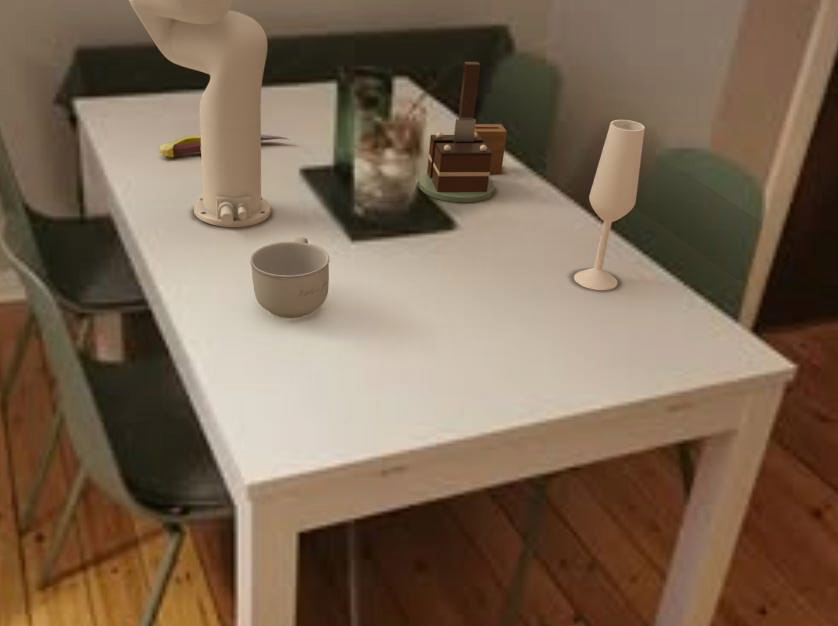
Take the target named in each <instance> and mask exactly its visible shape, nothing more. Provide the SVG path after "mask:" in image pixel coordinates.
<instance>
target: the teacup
mask: <svg viewBox="0 0 838 626" xmlns="http://www.w3.org/2000/svg"><path fill="white" fill-rule="evenodd" d="M249 263H250V265H251V275H252V276H251V277H252V285H253V293H254V296H255V299H256V301H257V303H258V304H259V305H260V306H261V307H262V308H263V309H265V311H267V312H269V313H270V314H271V315H273V316H275V317H280V318H284V319H298V318H303V317H306V316H309V315H310V314H312V313H314V312H315V311H316V310H317V309H319V308H320V307H321V306H322V305H323V304H324V303H325V301H326V299H327V297H328V294H329V289H330V288H329V287H330V285H329V284H330V283H329V282H330V274H329V273H330V267H329V266H330V255H329V253H328V252H327V251H326V250H325V249H324V248H323V247H321V246H318V245H315V244H312V243H309V240H308V239H307V238H306V237H304V236H298V237H296V238H295V241H282V242H274V243H270V244H267V245H264V246H262V247H260V248H258V249H256V250H255V251H254V252H253V253H252V254H251V256H250V258H249Z"/></svg>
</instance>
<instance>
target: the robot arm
mask: <svg viewBox="0 0 838 626" xmlns="http://www.w3.org/2000/svg"><path fill="white" fill-rule="evenodd" d="M128 2H129V4H130V6H131V8H132V9H133V11H134V13H135V15H136V16H137V17H138V19H139V20H140V22H141V24H142V26H143V27H144V29H145V30H146V31H147V34H148V35H149V36H150V38H151V39H152V41H153V42H154V44H155V46H156V47H157V49H158V50H159V52H160V53H161V54H162V55H163V56H164V57H165V58H166V59H167V60H168V61H169V62H171V63H173V64H175V65H177V66H180V67H183V68H187V69H190V70H193V71H198V72H202V73H204V74H207V75H208V76H209V82H208V84H207V86H206V87H205V90H204V91H203V93H202V95H201V97H200V101H199V131H200V132H199V133H200V134H201V152H200V156H201V160H200V161H201V181H202V196H201V197H199V198H198V199H196V201H195V202H194V204H193V213H194V215H195V216H196V217H197V219H198V220H200V221H202V222H204V223H206V224H209V225H212V226H217V227H224V228H241V227H242V228H243V227H250V226H254V225H257V224H260V223H262V222H264V221H265V220H267V219H268V218H269V217H270V215H271V210H272V209H271V208H272V207H271V204H270V202H269V201H268V200H267V199H266V198H264V197H262V141H261V134H262V116H261V115H262V113H261V112H262V111H261V109H262V105H261V104H262V85H263V77H264V73H265V65H266V61H267V55H268V37H267V34H266V32H265V30H264V28H263V26H261V24H260V23H259V22H258V21H257V20H256V19H254V18H253V17H251V16H249V15H247V14H245V13H242V12H239V11H234V10H231V7H232V0H128ZM200 134H199V135H200Z"/></svg>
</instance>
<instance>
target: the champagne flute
mask: <svg viewBox="0 0 838 626" xmlns="http://www.w3.org/2000/svg"><path fill="white" fill-rule="evenodd" d="M644 136H645V125H644V124H642V123H640V122H638V121H636V120H635V121H634V120H630V119H615V120H612V121H610V123H609V127H608V131H607V134H606V137H605V141H604V144H603V148H602V151H601V153H600V157H599V161H598V165H597V168H596V171H595V175H594V178H593V182H592V185H591V189H590V192H589V195H588V198H589V199H588V201H589V203H590V207H591V208H592V209H593V211H594V212H595V214H596V215H597V216H598V217H599V218H600V219H601V220H602V221H603V222H602V228H601V233H600V237H599V243H598V247H597V252H596V257H595V262H594V267H592V268H588V269H584V270H580V271H578V272H576V273H575V274H574V276H573V279H574V281H575V282H576V283H577V284H578V285H580V286H582V287H584V288H586V289H589V290H595V291H596V290H597V291H607V290H611V289H614V288H616V287H617V285H618V284H619V283H618V280H617V279H616V277H614V276H613V275H612V274H610V273H609V272H607V271H606V270H605V269H603V267H604V262H605V256H606V251H607V248H608V247H607V246H608V242H609V237H610V234H611V233H610V232H611V229H612V228H611V227H612V223H614V222H616V221H618V220H620V219H622V218H623V217H625V216H626V215H628V214H629V213H630V212H631V211H632V210H633V209H634V208H635V206H636V202H637V193H638V187H639V179H640V178H639V177H640V169H641V160H642V154H643V153H642V152H643V144H644V138H645V137H644Z"/></svg>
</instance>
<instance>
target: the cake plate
mask: <svg viewBox="0 0 838 626" xmlns="http://www.w3.org/2000/svg"><path fill="white" fill-rule="evenodd" d="M417 185H418V188H419V190H420V191H421V192H422V193H424V194H425V195H427V196H429V197H431V198H434V199H438V200H441V201H445V202H452V203H477V202H480V201H481V202H482V201H485V200H487V199H488V198H490V197H492V196H493V194H494V192H495V182H493V180H492V179H491V178H489V180H488V188H487V192H437V190H436V188H435V186H434V185H433V183H432V178H430V177H429V175H428V174H427V171H425V172H424V173H422V174H421V175H420V176H419V177H418V184H417Z"/></svg>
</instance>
